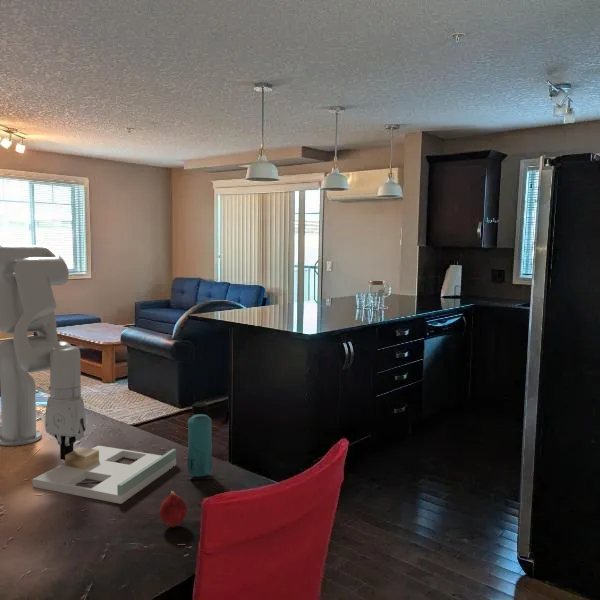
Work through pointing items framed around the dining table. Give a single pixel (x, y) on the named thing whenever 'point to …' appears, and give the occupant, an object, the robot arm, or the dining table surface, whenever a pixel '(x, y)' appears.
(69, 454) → the block
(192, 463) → the beverage bottle
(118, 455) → the board
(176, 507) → the onion
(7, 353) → the robot arm
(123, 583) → the dining table surface
